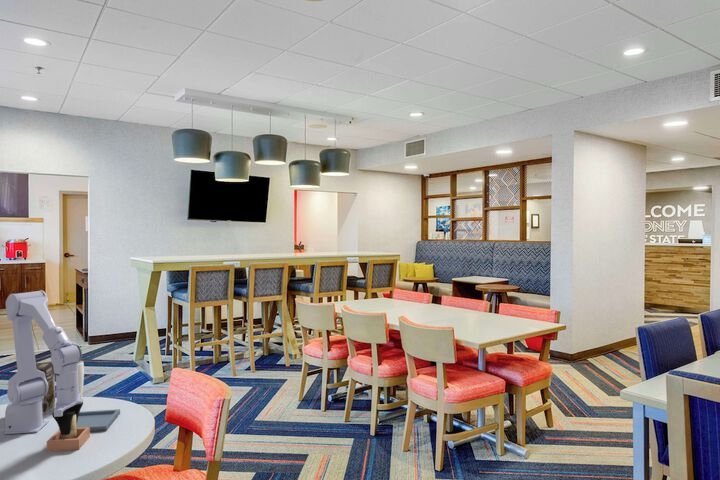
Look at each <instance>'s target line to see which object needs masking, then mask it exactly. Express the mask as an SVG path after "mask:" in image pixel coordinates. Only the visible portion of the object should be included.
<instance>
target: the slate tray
mask: <svg viewBox="0 0 720 480" xmlns="http://www.w3.org/2000/svg"><path fill="white" fill-rule="evenodd" d="M120 414H121V409H119V408H117V409H102V410H87V411H86V410H85V411H83V410H82V411H80V412H79V416H78V420H77V425H76V428H83V427H90V433H92V432H93V433H94V432H106V431H108V430H109V428H111V426H112V425H113V423H114V422H115V420H116V419H117V418H118V417H119V416H120ZM118 415H119V416H118Z"/></svg>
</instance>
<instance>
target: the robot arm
mask: <svg viewBox="0 0 720 480" xmlns="http://www.w3.org/2000/svg"><path fill="white" fill-rule="evenodd" d="M48 308H49V298H48V295H47V293H46V292H45V291H44V290H42V289H40V290H37V291H35V290H34V291H28V292H19V293H10V294H9V295H8V297H7V298H6V300H5V310H6V316H7V320H8V321H11V323H12V324H11V325H12V332H13V340H14V343H13V344H14V349H15V350H14V351H15V360H16V368H17V369H16V370H17V372H16V373H15V374H14V375H12V377H10V379H8V381H7V383H8V384H7V386H8V387H7V398H8V400H9V403H8V404H7V405H6V407H5V412H4V413H5V414H4V415H5V417H4V418H5V420H4V421H5V432H4V435H12V434H15V435H16V434H27V433H30V434H31V433H38V432H39V431H40V430H41V429H42V428H43V427H45V426H46V425H47V424H48V423H49V421H48V420H43V418H44V417H43V415H42V399H44V395H46V394H47V392H48V382H47V380H46V377H45V373H44V372H42V371H39V370H37V369H36V363H37V362H36V352H35V345H34V333H33V325H32V324H33V323H32V321H33V320H34V322H35V323H36V324H37V325H38V328H40V329H41V331H42V332H43V334H42V336H41V338H42V340H43V342H44V343H45V345H46V347H47V349H49V352H50V353H51V356H50V362H52V364H53V368H54V373H55V395H56V401H55V408H54V410H53V412H52V418H53V419H54V420H55V422H56V423H57V426H58V430H59V429H60V432H61V435H69V434H70V431H71V423H72V418H73V415H74V414H76V425H77V420H78V416H79V412H81V410H82V407H83V406H84V398H83V399H80V398H81V392H79V385H78V363H79V362H80V361H82V359H83V352H82V348H81V347H80V345H79V344H78V343H75V342H74V341H71V339H70V338H69V337H68V335H67V333H66V332H65V330H64V329H63V327H61V326H58V325H56V324H55V321H54V319H53V317H52V315H51V312H50V310H49V309H48ZM33 378H35V379H33ZM29 379H31V380H29ZM25 380H27V381H25Z"/></svg>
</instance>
